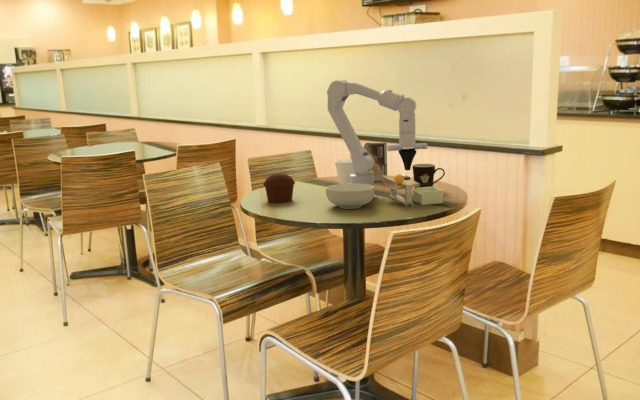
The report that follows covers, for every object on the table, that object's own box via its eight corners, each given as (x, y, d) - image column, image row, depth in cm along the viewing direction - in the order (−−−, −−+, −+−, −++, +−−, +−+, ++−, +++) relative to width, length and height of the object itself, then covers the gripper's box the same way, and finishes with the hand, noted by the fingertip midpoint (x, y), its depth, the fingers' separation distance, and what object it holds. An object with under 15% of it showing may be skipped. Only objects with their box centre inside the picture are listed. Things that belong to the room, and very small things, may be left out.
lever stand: (404, 206, 200) (404, 186, 198) (389, 197, 216) (389, 178, 215) (413, 205, 200) (413, 185, 199) (397, 196, 217) (396, 178, 215)
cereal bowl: (384, 205, 202) (384, 185, 201) (352, 214, 191) (351, 193, 190) (348, 199, 214) (348, 180, 213) (316, 207, 203) (315, 187, 202)
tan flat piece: (395, 189, 199) (394, 181, 199) (382, 183, 213) (381, 175, 212) (419, 186, 201) (419, 178, 200) (406, 179, 214) (405, 172, 214)
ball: (396, 186, 201) (394, 176, 200) (392, 184, 204) (391, 174, 203) (406, 184, 201) (404, 174, 200) (402, 182, 205) (401, 172, 204)
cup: (359, 185, 243) (359, 158, 241) (359, 189, 233) (358, 162, 231) (336, 185, 244) (335, 159, 242) (334, 189, 234) (333, 162, 232)
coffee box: (388, 179, 255) (387, 142, 252) (385, 181, 249) (384, 144, 246) (367, 178, 258) (366, 142, 254) (364, 181, 252) (363, 144, 248)
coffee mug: (409, 192, 224) (409, 166, 222) (416, 188, 231) (416, 163, 229) (438, 194, 218) (439, 167, 216) (445, 190, 226) (445, 164, 224)
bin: (422, 204, 201) (422, 192, 200) (413, 200, 209) (413, 187, 208) (443, 203, 203) (443, 190, 202) (433, 198, 211) (433, 186, 210)
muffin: (267, 205, 210) (265, 177, 208) (261, 199, 220) (260, 173, 218) (299, 202, 213) (298, 175, 211) (292, 196, 223) (291, 170, 221)
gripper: (391, 134, 203) (391, 172, 206) (430, 132, 206) (430, 170, 208) (385, 132, 210) (385, 170, 212) (423, 130, 212) (423, 167, 215)
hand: (407, 170), depth 211 cm, fingers closed
